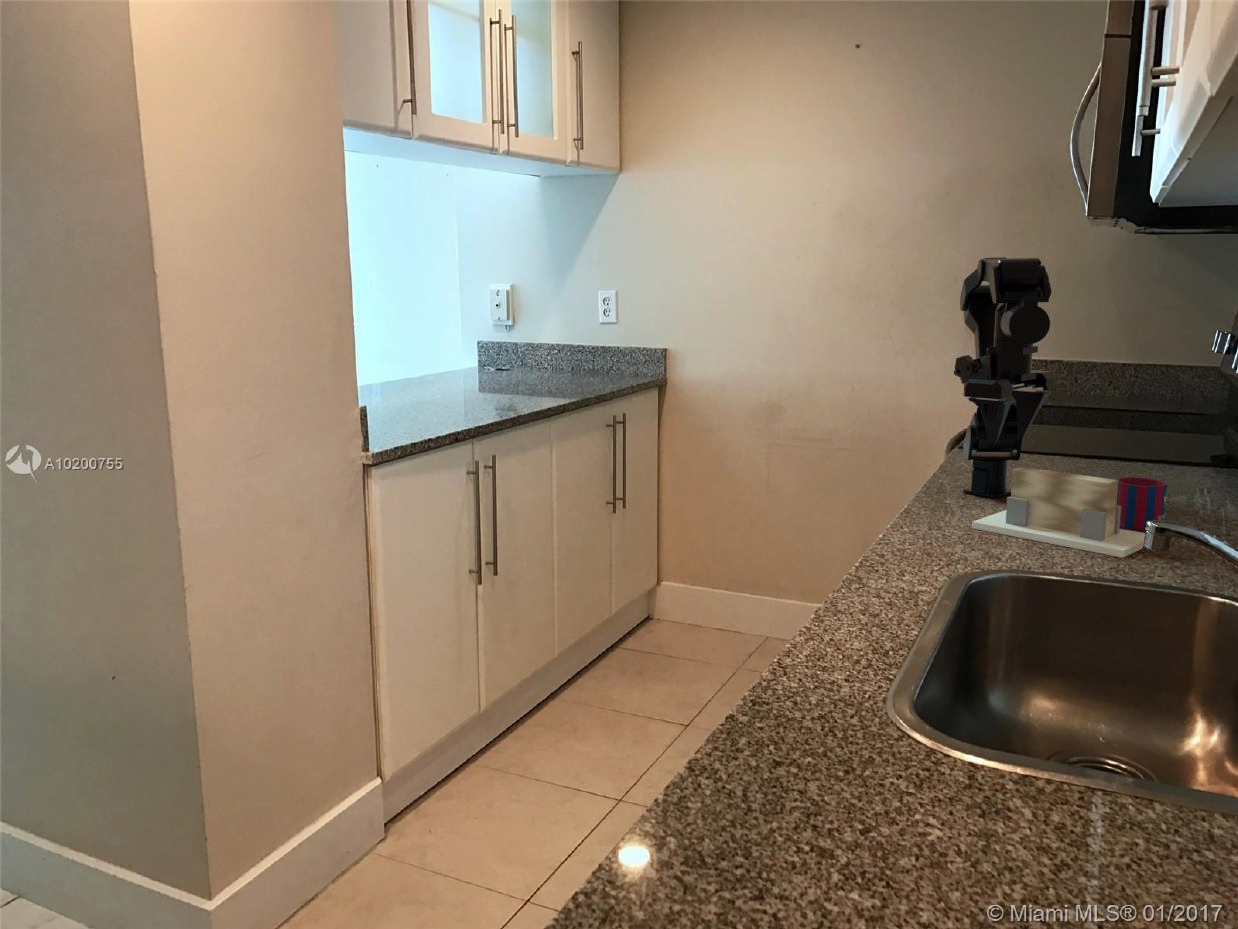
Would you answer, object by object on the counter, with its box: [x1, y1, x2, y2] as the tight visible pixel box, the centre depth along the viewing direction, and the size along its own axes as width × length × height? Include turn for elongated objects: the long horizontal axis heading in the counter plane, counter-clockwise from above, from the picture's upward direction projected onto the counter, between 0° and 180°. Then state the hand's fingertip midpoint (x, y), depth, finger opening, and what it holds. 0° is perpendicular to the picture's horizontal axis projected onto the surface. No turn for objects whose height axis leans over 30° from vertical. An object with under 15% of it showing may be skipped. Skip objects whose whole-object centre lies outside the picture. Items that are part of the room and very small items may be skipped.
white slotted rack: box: [971, 496, 1146, 559], centre depth 141 cm, size 11×22×5 cm, turn 41°
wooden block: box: [1010, 466, 1118, 539], centre depth 140 cm, size 14×4×8 cm, turn 41°
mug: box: [1116, 476, 1168, 532], centre depth 146 cm, size 7×10×7 cm
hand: (1007, 437), depth 153 cm, fingers open, 9 cm apart
